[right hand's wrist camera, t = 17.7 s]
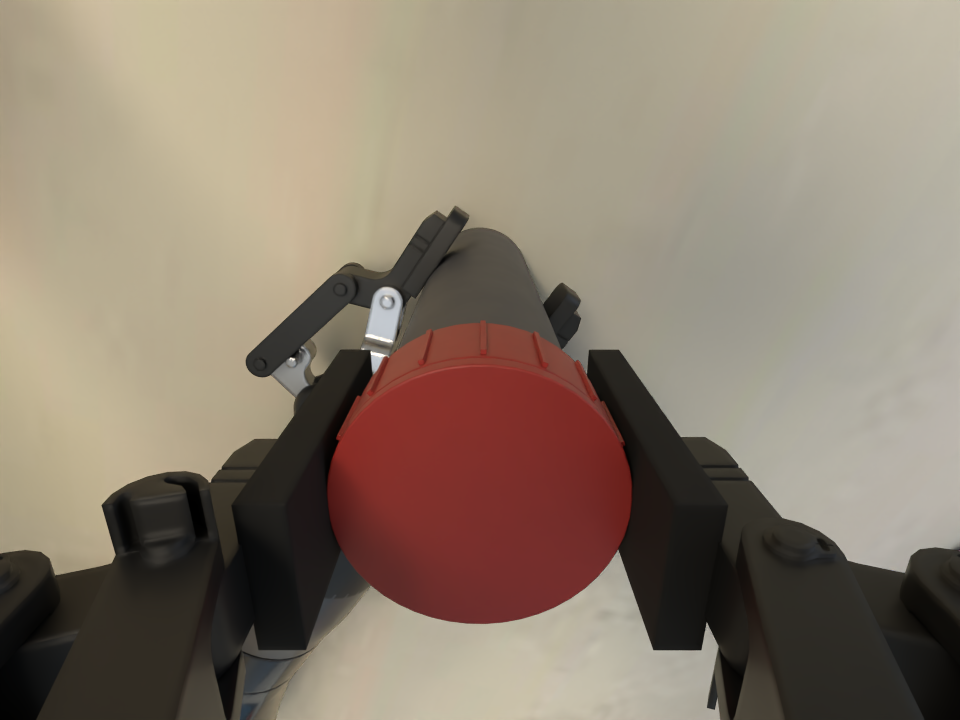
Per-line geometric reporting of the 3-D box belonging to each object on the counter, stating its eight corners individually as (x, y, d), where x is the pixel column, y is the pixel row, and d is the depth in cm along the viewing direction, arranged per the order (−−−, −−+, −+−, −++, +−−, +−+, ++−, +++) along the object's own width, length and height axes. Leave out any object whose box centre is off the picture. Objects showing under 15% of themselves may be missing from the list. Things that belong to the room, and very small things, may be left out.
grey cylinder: (514, 327, 30) (570, 602, 12) (426, 309, 30) (339, 565, 11) (535, 238, 28) (639, 395, 10) (442, 218, 28) (370, 343, 10)
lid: (373, 293, 11) (346, 330, 9) (640, 351, 11) (679, 400, 9) (337, 521, 13) (307, 599, 11) (566, 563, 13) (584, 646, 11)
